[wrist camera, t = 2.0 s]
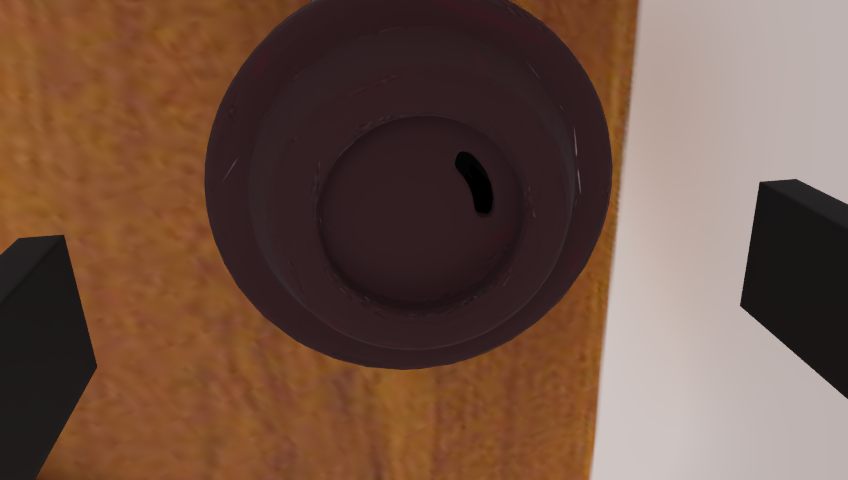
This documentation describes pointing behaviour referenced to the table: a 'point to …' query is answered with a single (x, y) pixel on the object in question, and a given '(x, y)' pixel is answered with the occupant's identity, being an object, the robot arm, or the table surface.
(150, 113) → the table surface
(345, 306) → the coffee cup
